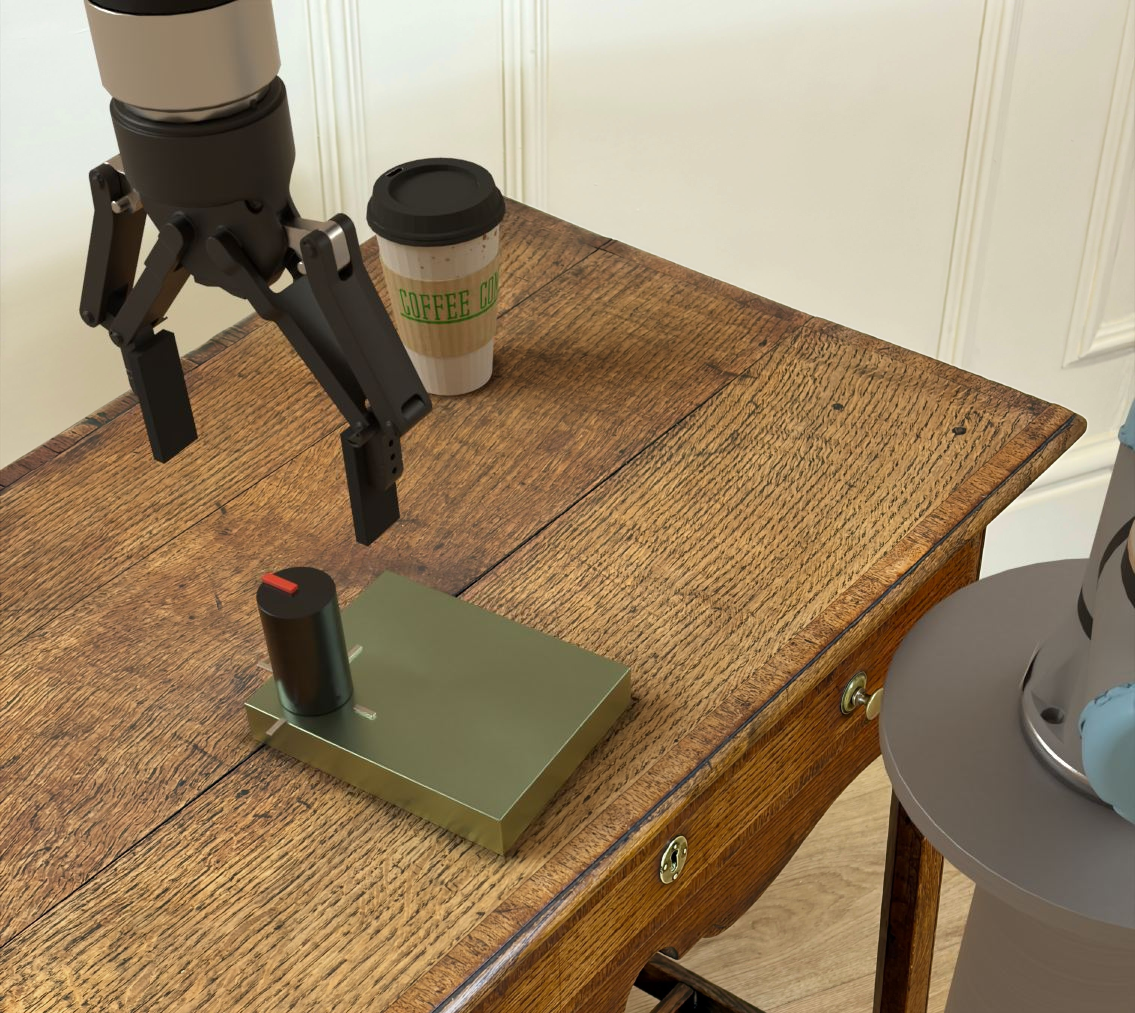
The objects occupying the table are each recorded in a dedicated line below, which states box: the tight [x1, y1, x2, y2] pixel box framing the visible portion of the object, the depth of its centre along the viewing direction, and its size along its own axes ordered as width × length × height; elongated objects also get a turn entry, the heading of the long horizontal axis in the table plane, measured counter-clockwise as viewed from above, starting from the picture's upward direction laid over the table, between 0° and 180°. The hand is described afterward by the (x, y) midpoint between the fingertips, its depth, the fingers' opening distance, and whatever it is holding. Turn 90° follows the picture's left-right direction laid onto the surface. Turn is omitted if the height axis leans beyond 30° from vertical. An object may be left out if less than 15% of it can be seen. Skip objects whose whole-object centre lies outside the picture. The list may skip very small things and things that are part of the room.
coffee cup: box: [365, 157, 507, 397], centre depth 116 cm, size 10×10×15 cm
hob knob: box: [255, 566, 353, 716], centre depth 90 cm, size 4×4×8 cm
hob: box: [243, 569, 632, 857], centre depth 94 cm, size 19×15×3 cm
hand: (274, 488), depth 83 cm, fingers open, 13 cm apart
